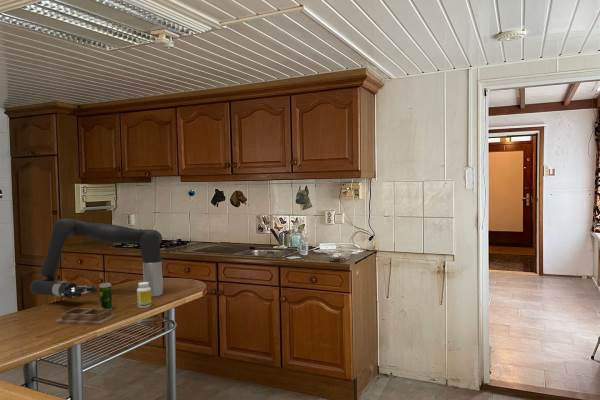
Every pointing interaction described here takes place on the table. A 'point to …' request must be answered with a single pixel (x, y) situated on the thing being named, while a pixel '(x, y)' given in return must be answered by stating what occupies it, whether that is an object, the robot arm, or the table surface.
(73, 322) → the rack
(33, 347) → the table surface
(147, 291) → the pill bottle
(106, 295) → the beer can
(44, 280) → the robot arm
